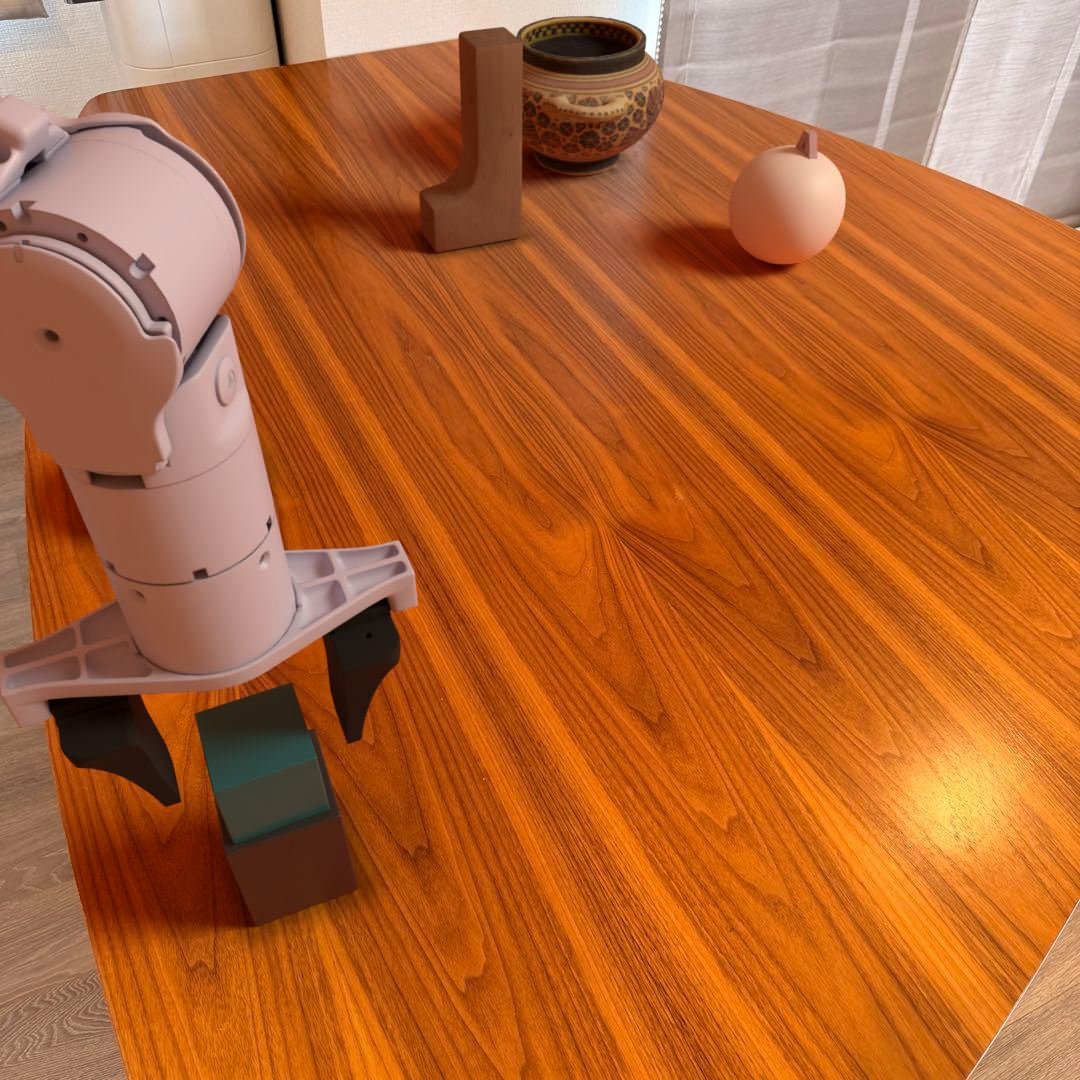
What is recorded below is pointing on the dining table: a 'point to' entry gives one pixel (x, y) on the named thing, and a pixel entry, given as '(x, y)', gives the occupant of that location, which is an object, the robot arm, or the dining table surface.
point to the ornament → (787, 202)
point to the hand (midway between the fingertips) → (261, 753)
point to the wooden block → (482, 149)
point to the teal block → (261, 762)
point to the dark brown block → (293, 860)
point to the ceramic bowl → (586, 91)
